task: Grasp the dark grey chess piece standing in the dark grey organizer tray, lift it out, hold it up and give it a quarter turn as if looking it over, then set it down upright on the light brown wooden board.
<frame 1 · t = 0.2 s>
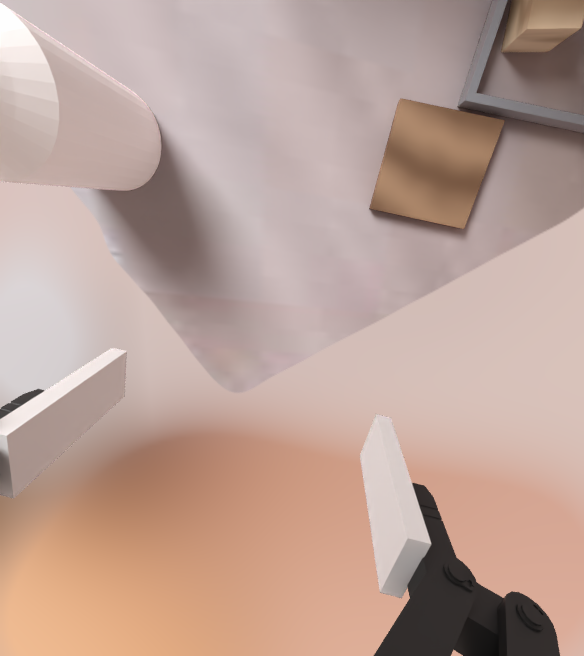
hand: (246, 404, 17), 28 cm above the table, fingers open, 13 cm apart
bottle: (117, 140, 39), on the table
light brown wooden board: (430, 168, 36), on the table
beech block: (530, 24, 32), resting in tray
tray: (581, 33, 31), on the table
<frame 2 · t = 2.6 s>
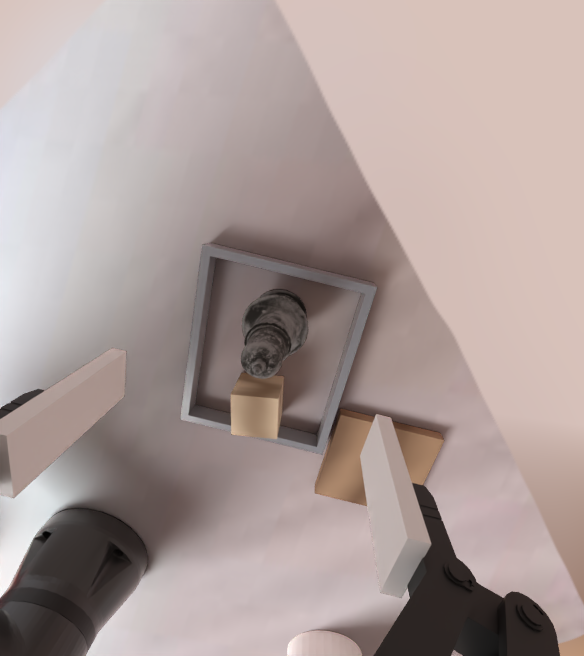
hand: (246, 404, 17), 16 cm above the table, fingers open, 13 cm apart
dark grey chess piece: (279, 315, 32), resting in tray
bottle: (324, 652, 49), on the table
light brown wooden board: (374, 460, 36), on the table
beech block: (262, 392, 35), resting in tray
tray: (271, 352, 33), on the table
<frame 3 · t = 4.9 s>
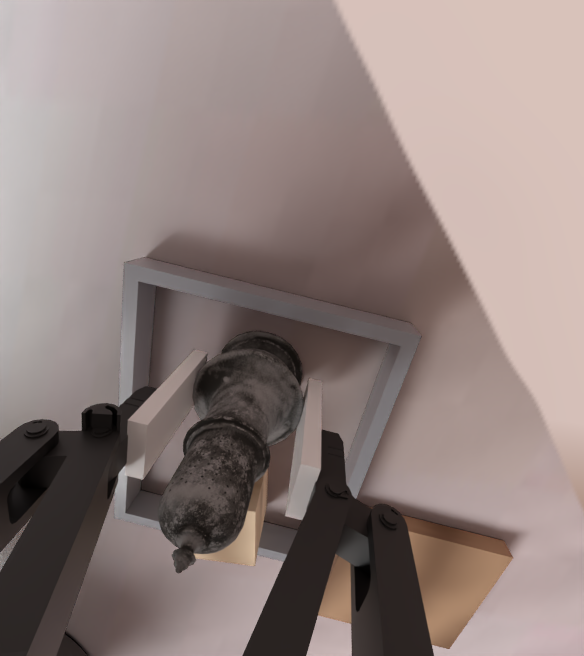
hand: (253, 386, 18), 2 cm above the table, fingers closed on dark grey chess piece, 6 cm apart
dark grey chess piece: (260, 369, 20), resting in tray, touching gripper
light brown wooden board: (401, 571, 25), on the table
beech block: (237, 477, 23), resting in tray
tray: (248, 422, 21), on the table
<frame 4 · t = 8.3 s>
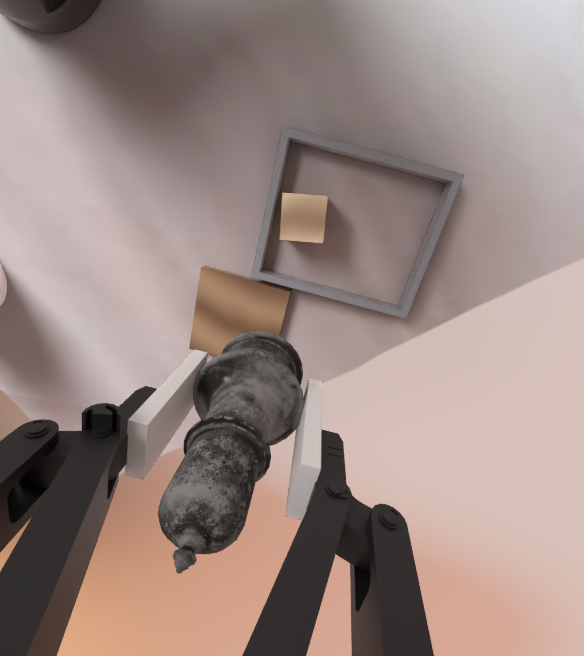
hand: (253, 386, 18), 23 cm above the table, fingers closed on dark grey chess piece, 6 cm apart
dark grey chess piece: (261, 369, 20), point 21 cm above the table, touching gripper
light brown wooden board: (239, 318, 41), on the table
beech block: (305, 217, 37), resting in tray
tray: (348, 229, 36), on the table
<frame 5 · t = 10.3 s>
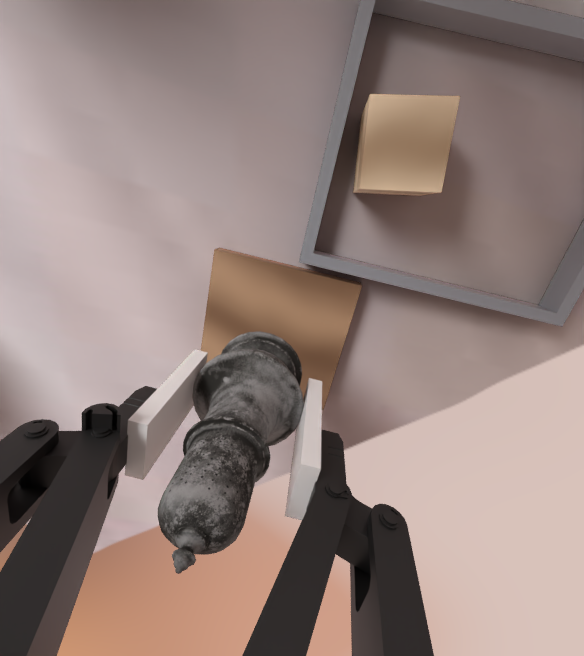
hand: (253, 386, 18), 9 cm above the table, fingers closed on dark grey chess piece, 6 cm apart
dark grey chess piece: (260, 369, 20), point 7 cm above the table, touching gripper
light brown wooden board: (275, 330, 26), on the table
beech block: (390, 157, 21), resting in tray
tray: (464, 175, 21), on the table
when the fingers open (4 cm above the table, at t = 11.9 s): dark grey chess piece drops 1 cm, resting on light brown wooden board.
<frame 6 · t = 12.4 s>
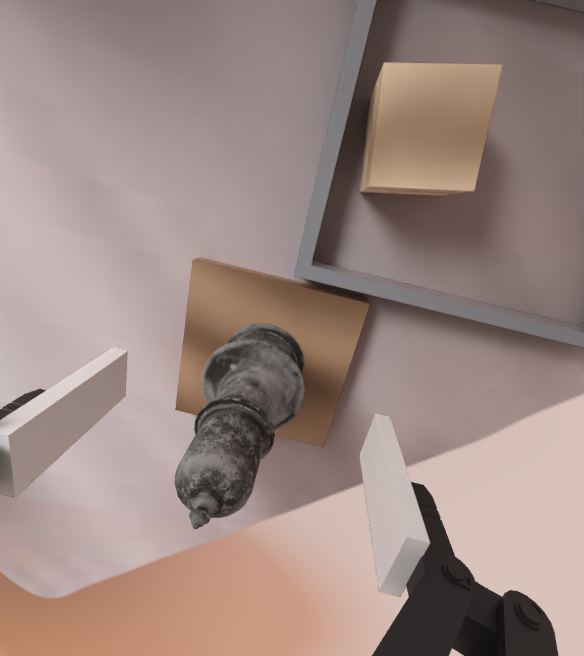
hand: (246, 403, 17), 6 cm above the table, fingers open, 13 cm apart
dark grey chess piece: (264, 359, 21), point 1 cm above the table, touching light brown wooden board
light brown wooden board: (266, 354, 22), on the table
beech block: (405, 149, 18), resting in tray
tray: (496, 170, 17), on the table
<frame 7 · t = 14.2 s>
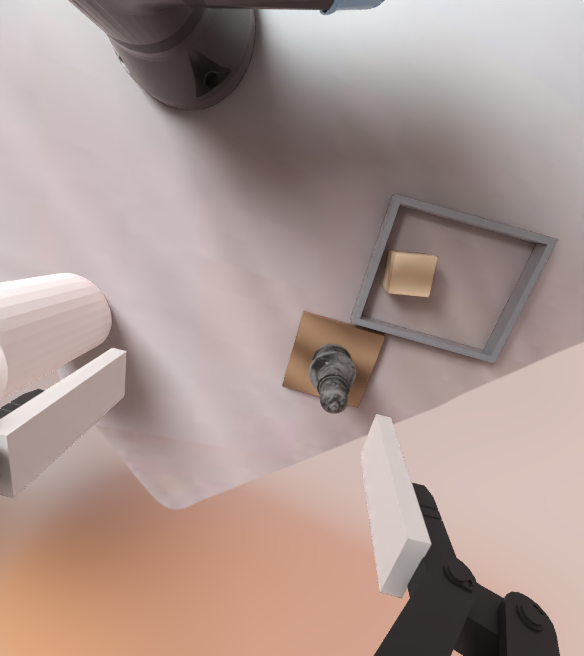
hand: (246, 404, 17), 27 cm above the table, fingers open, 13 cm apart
dark grey chess piece: (331, 361, 43), point 1 cm above the table, touching light brown wooden board
bottle: (74, 312, 46), on the table
light brown wooden board: (331, 358, 44), on the table
beech block: (403, 270, 40), resting in tray
tray: (442, 281, 40), on the table
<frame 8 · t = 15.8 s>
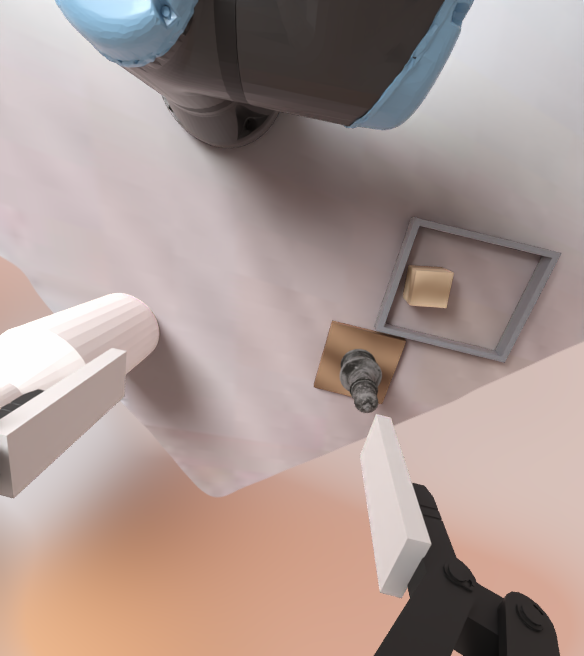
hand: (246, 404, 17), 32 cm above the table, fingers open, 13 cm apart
dark grey chess piece: (358, 364, 49), point 1 cm above the table, touching light brown wooden board
bottle: (126, 327, 52), on the table
light brown wooden board: (357, 361, 50), on the table
beech block: (421, 282, 45), resting in tray
tray: (457, 291, 45), on the table
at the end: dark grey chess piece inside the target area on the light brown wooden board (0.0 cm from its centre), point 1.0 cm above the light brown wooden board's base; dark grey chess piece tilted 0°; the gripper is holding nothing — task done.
